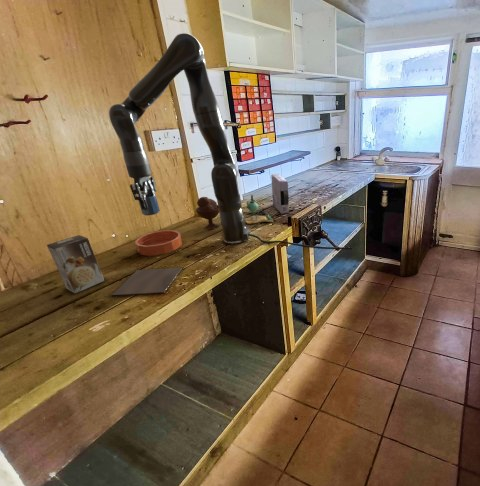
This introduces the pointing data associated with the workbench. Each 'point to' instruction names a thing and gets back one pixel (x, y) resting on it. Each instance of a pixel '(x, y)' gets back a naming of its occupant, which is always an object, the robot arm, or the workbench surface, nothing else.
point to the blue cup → (151, 205)
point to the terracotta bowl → (158, 242)
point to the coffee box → (76, 263)
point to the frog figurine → (255, 219)
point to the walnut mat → (148, 282)
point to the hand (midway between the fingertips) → (149, 206)
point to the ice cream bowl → (207, 210)
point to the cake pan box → (280, 193)
